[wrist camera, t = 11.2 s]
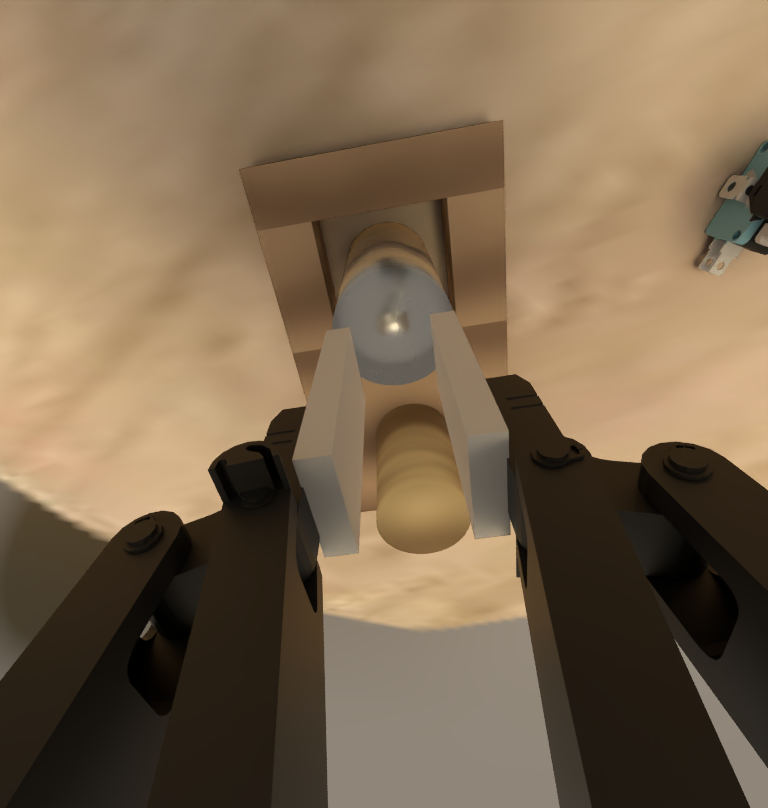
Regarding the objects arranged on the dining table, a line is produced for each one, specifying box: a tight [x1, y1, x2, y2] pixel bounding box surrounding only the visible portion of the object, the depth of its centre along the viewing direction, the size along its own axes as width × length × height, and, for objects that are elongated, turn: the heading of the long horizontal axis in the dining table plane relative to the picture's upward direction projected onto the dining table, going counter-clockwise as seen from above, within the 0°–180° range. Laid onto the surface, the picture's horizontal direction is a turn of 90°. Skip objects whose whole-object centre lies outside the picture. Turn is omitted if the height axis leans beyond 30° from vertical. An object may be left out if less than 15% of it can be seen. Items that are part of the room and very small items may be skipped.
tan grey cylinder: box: [332, 222, 453, 386], centre depth 21 cm, size 5×5×10 cm
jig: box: [239, 120, 508, 554], centre depth 23 cm, size 22×12×10 cm, turn 9°
